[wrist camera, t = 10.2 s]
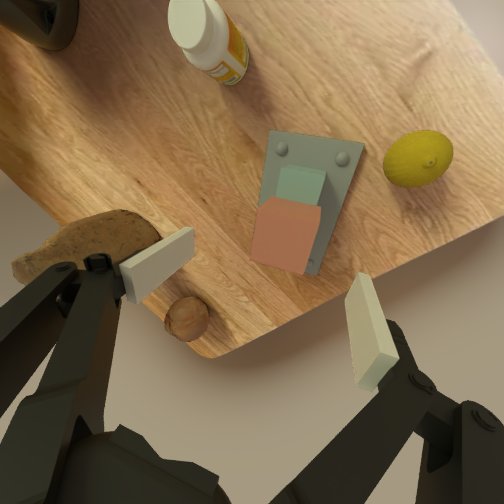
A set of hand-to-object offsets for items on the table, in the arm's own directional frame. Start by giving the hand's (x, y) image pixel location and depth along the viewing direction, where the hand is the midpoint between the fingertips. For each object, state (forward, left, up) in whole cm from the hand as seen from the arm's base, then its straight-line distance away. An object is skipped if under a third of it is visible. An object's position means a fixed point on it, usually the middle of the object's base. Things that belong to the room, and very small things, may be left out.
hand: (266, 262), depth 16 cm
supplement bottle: (-17, -13, -19) cm, 28 cm away
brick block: (0, 0, -11) cm, 11 cm away
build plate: (0, 0, -18) cm, 18 cm away
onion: (+28, -17, -19) cm, 38 cm away
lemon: (-9, +11, -19) cm, 23 cm away
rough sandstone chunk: (+12, -31, -19) cm, 38 cm away
